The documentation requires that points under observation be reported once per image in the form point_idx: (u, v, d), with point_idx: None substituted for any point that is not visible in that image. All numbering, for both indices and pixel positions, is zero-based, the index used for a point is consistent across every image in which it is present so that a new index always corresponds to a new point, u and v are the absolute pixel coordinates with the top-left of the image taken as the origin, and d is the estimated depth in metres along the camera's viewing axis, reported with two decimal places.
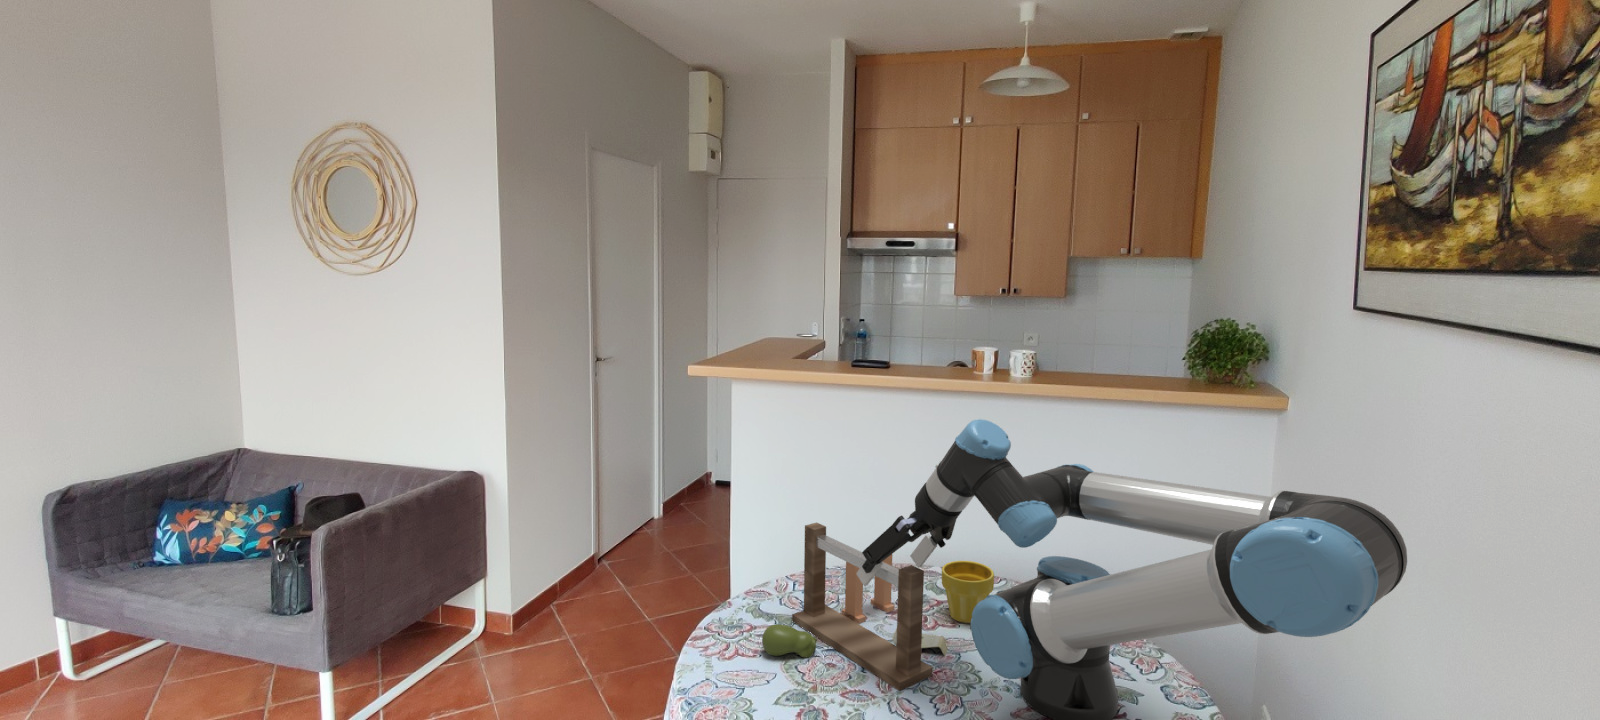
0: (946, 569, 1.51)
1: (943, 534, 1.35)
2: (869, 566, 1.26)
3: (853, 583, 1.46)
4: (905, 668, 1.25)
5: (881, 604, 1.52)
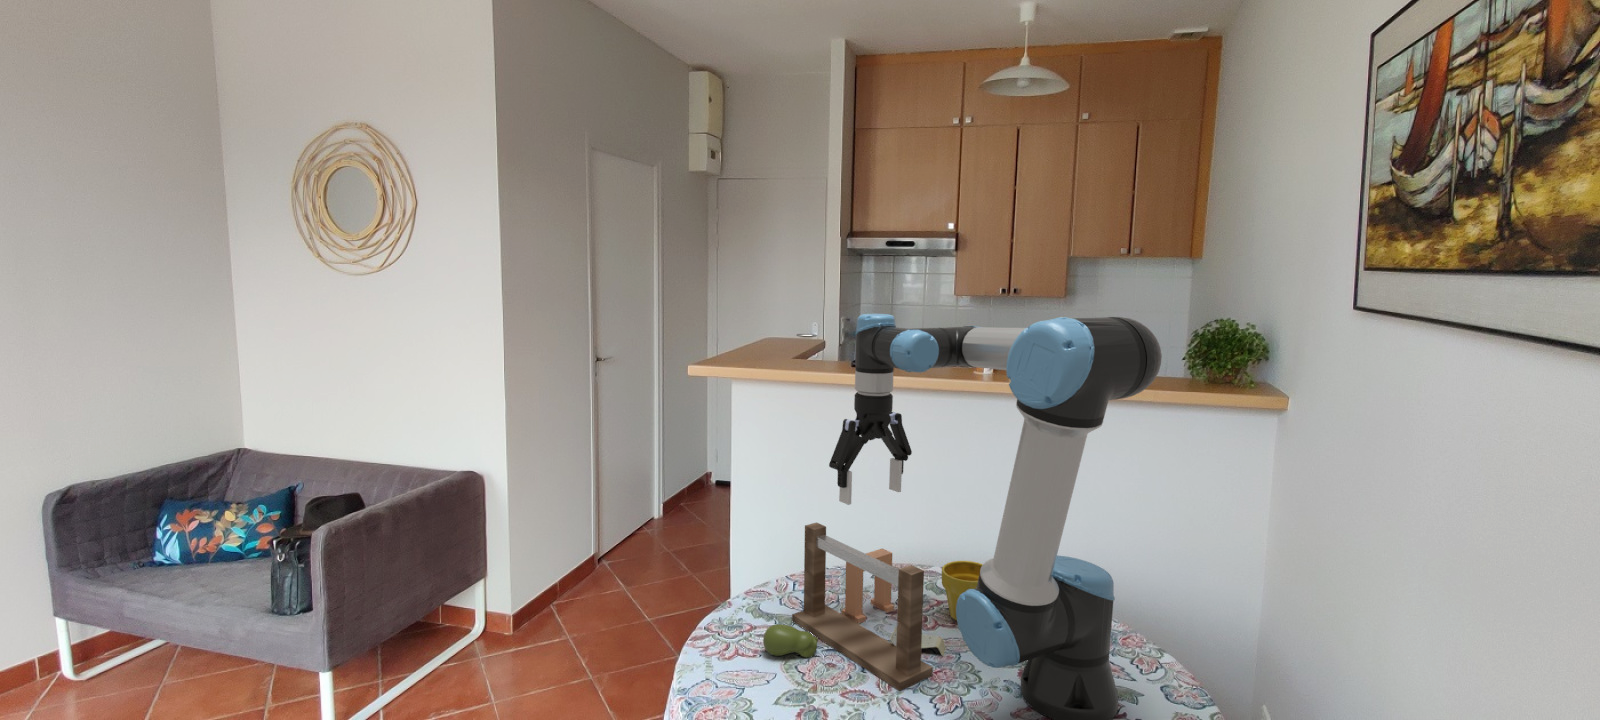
0: (946, 569, 1.51)
1: (903, 451, 1.52)
2: (841, 478, 1.42)
3: (853, 583, 1.46)
4: (905, 668, 1.25)
5: (881, 604, 1.52)
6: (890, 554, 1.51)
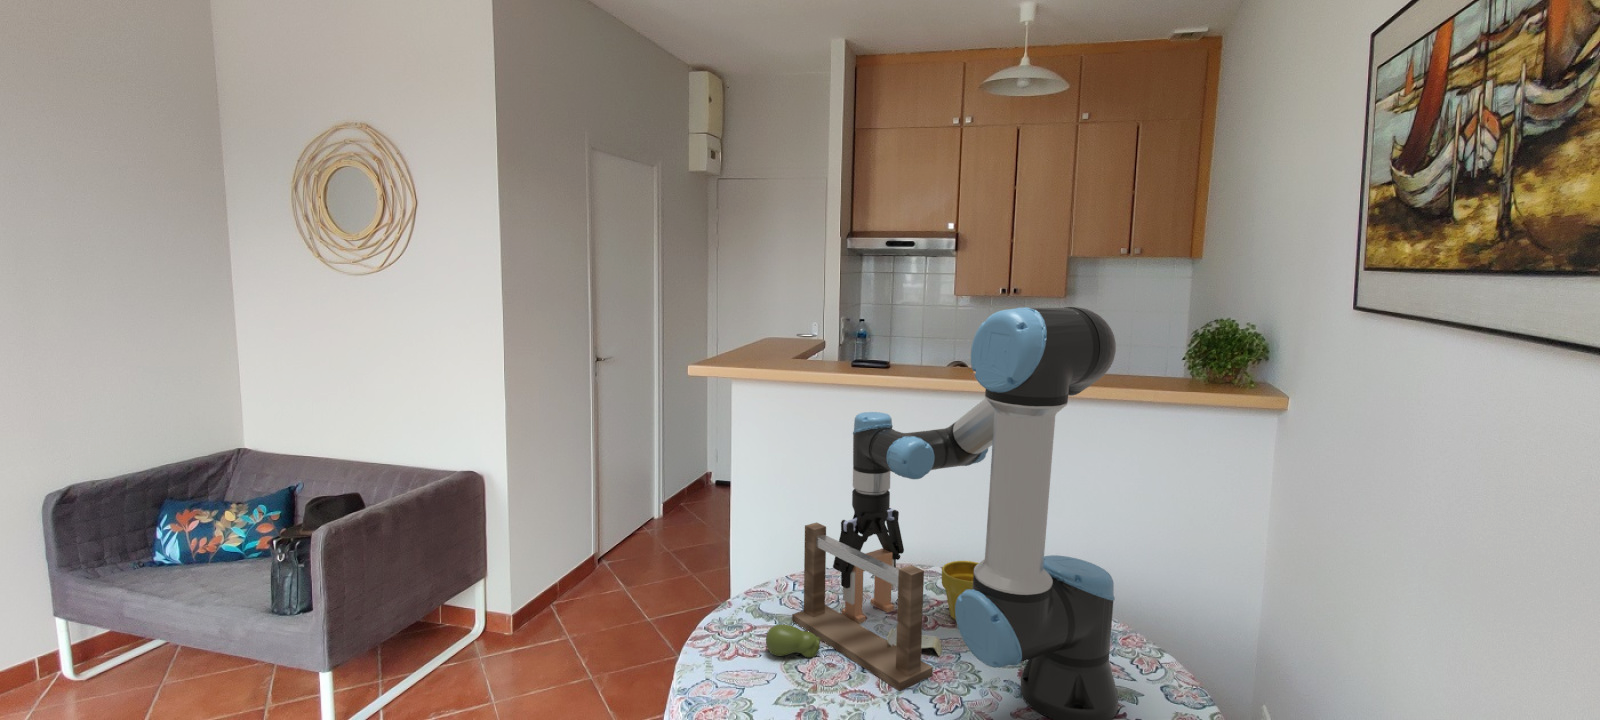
0: (946, 569, 1.51)
1: (895, 549, 1.53)
2: (845, 579, 1.45)
3: None
4: (905, 668, 1.25)
5: (881, 604, 1.52)
6: (890, 554, 1.51)
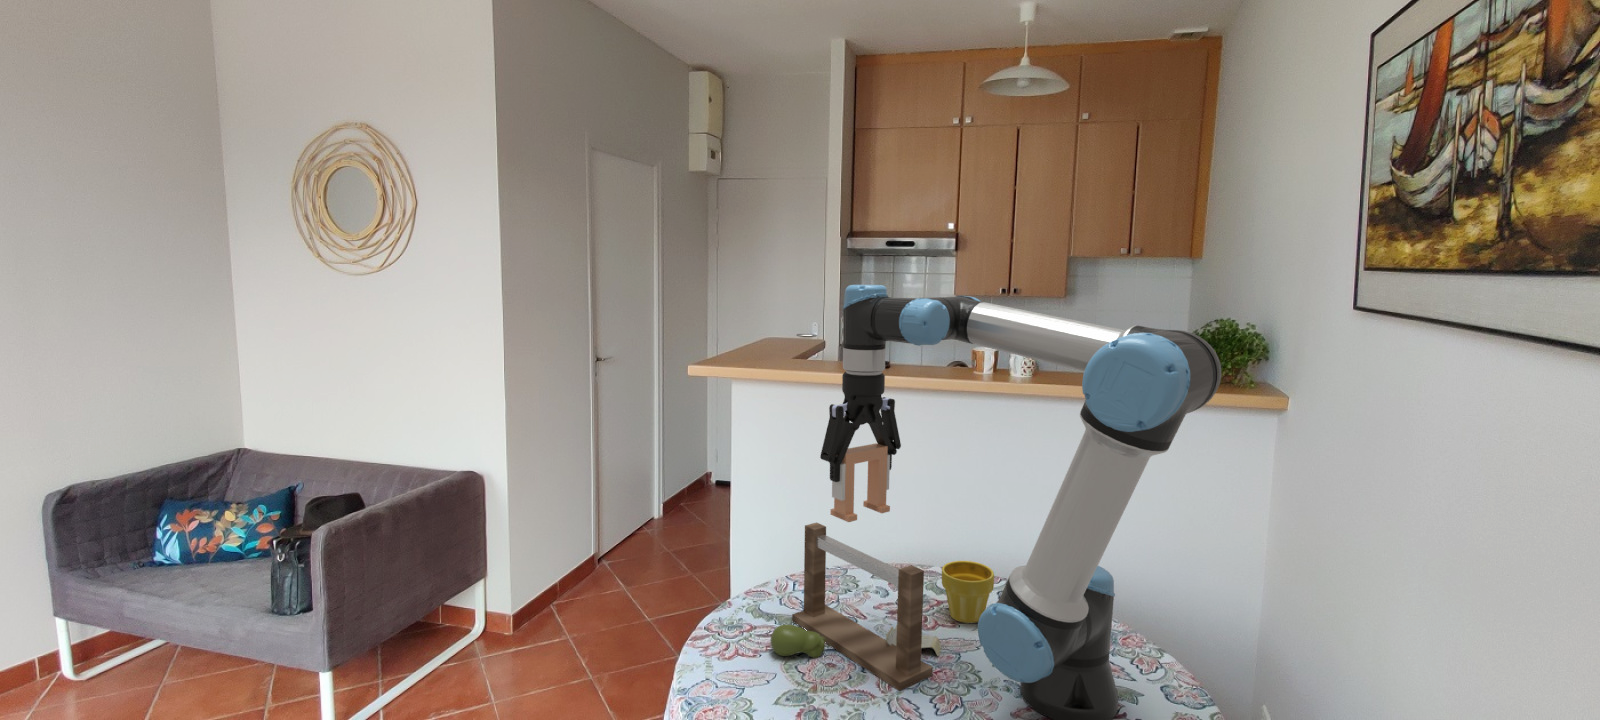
0: (946, 569, 1.51)
1: (891, 444, 1.36)
2: (834, 471, 1.28)
3: None
4: (905, 668, 1.25)
5: (875, 505, 1.35)
6: (885, 448, 1.34)
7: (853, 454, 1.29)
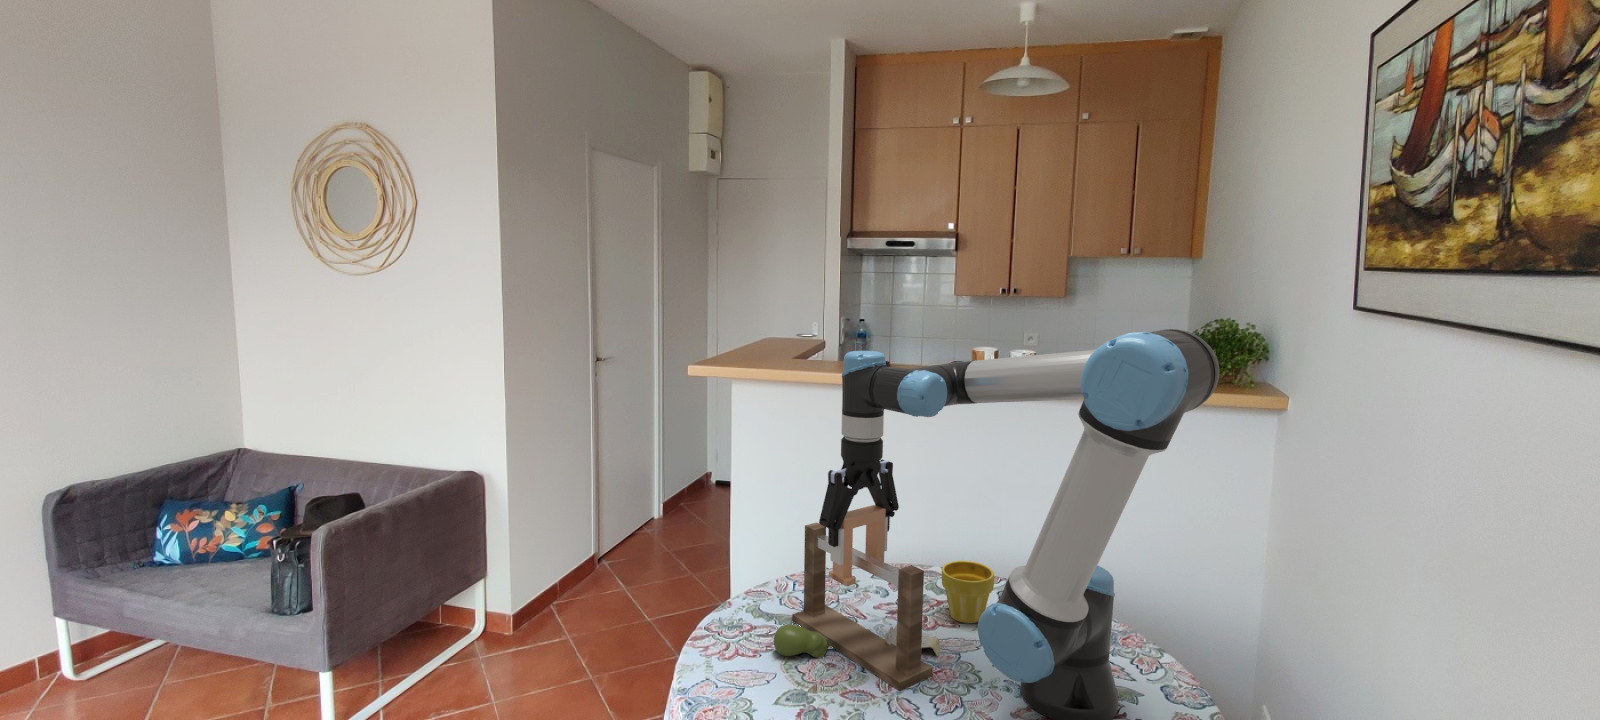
0: (946, 569, 1.51)
1: (889, 505, 1.38)
2: (832, 536, 1.30)
3: None
4: (905, 668, 1.25)
5: None
6: (883, 510, 1.35)
7: (851, 519, 1.31)
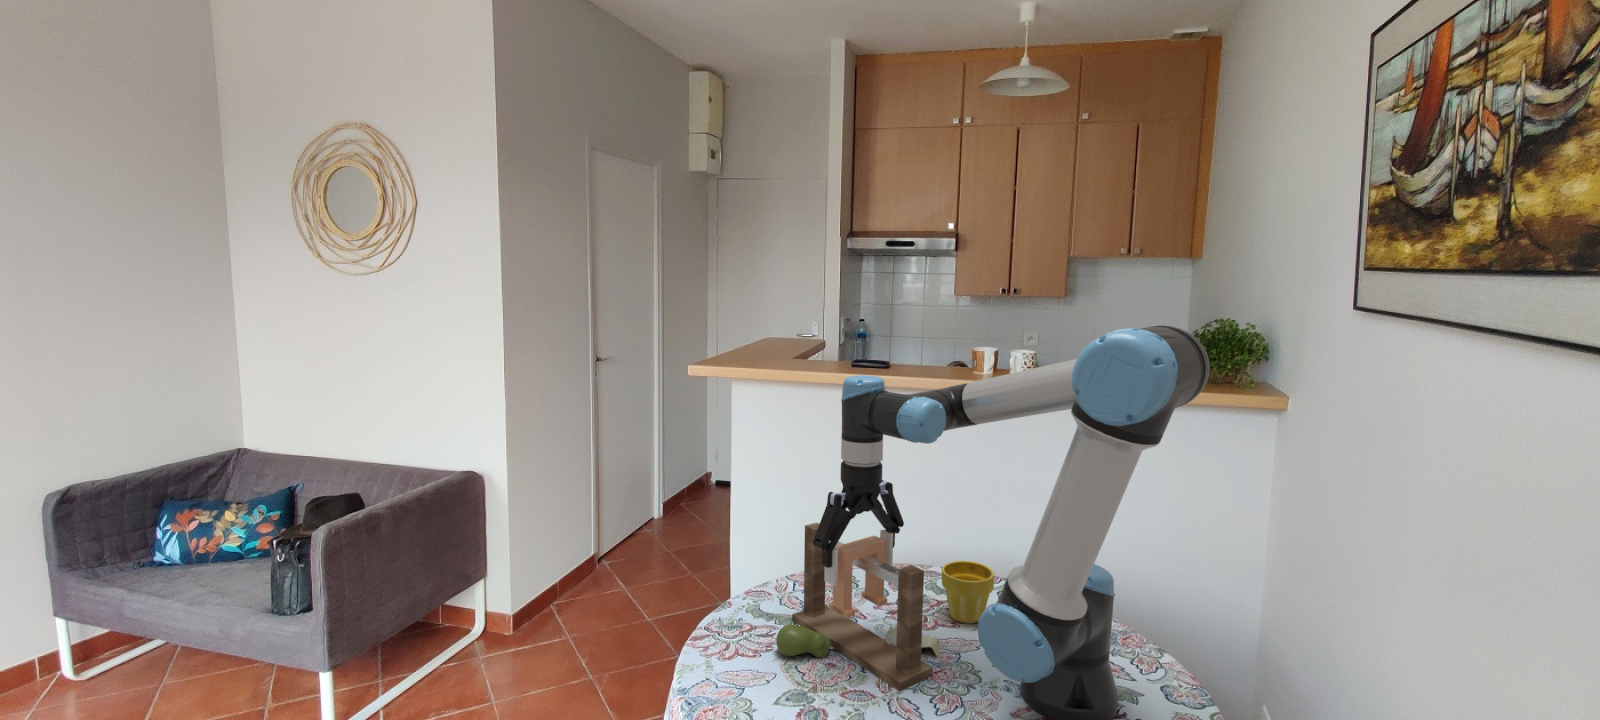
0: (946, 569, 1.51)
1: (895, 522, 1.39)
2: (826, 557, 1.29)
3: (841, 573, 1.31)
4: (905, 668, 1.25)
5: (873, 597, 1.37)
6: (882, 541, 1.36)
7: (851, 551, 1.31)
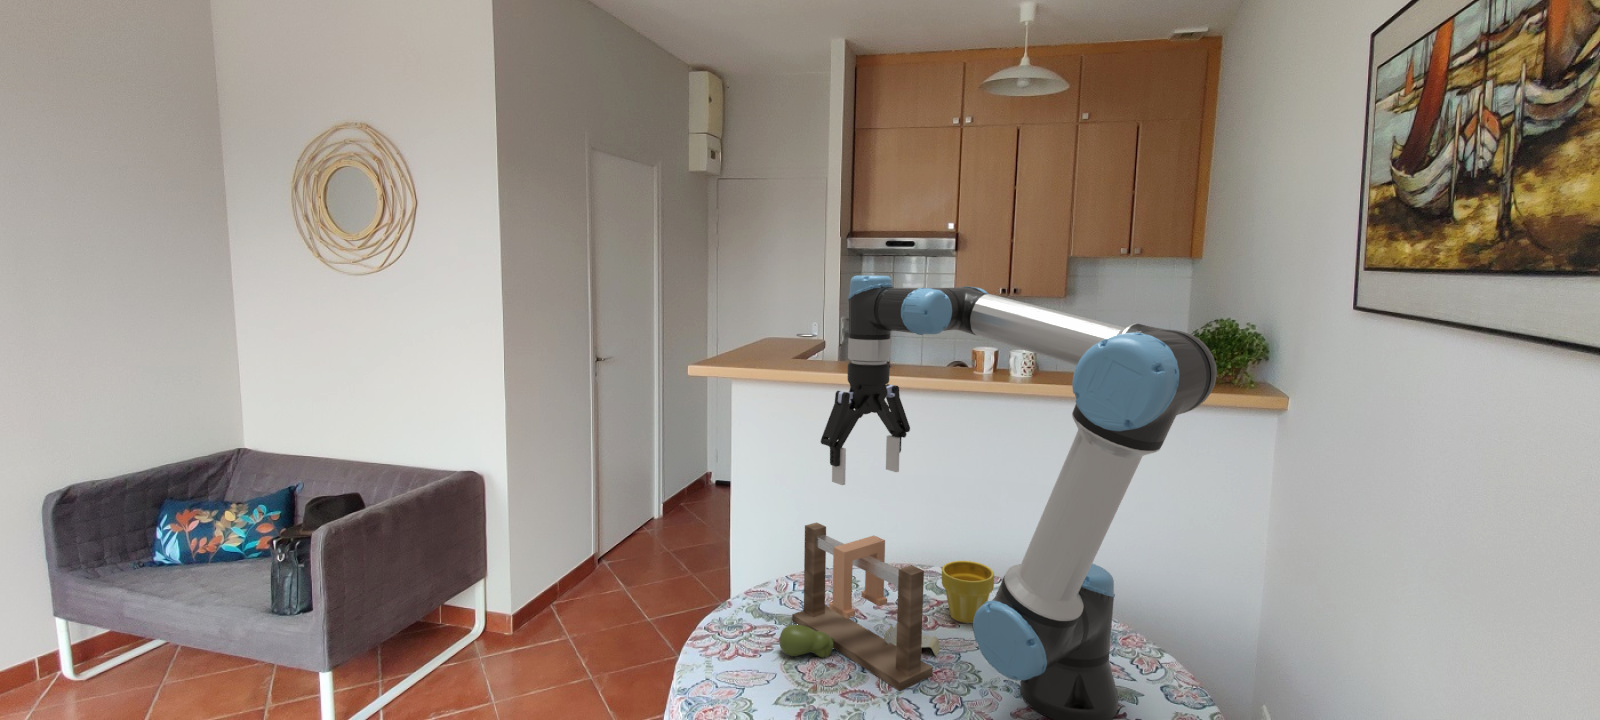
0: (946, 569, 1.51)
1: (901, 427, 1.39)
2: (834, 455, 1.28)
3: (841, 573, 1.31)
4: (905, 668, 1.25)
5: (873, 597, 1.37)
6: (882, 541, 1.36)
7: (851, 551, 1.31)
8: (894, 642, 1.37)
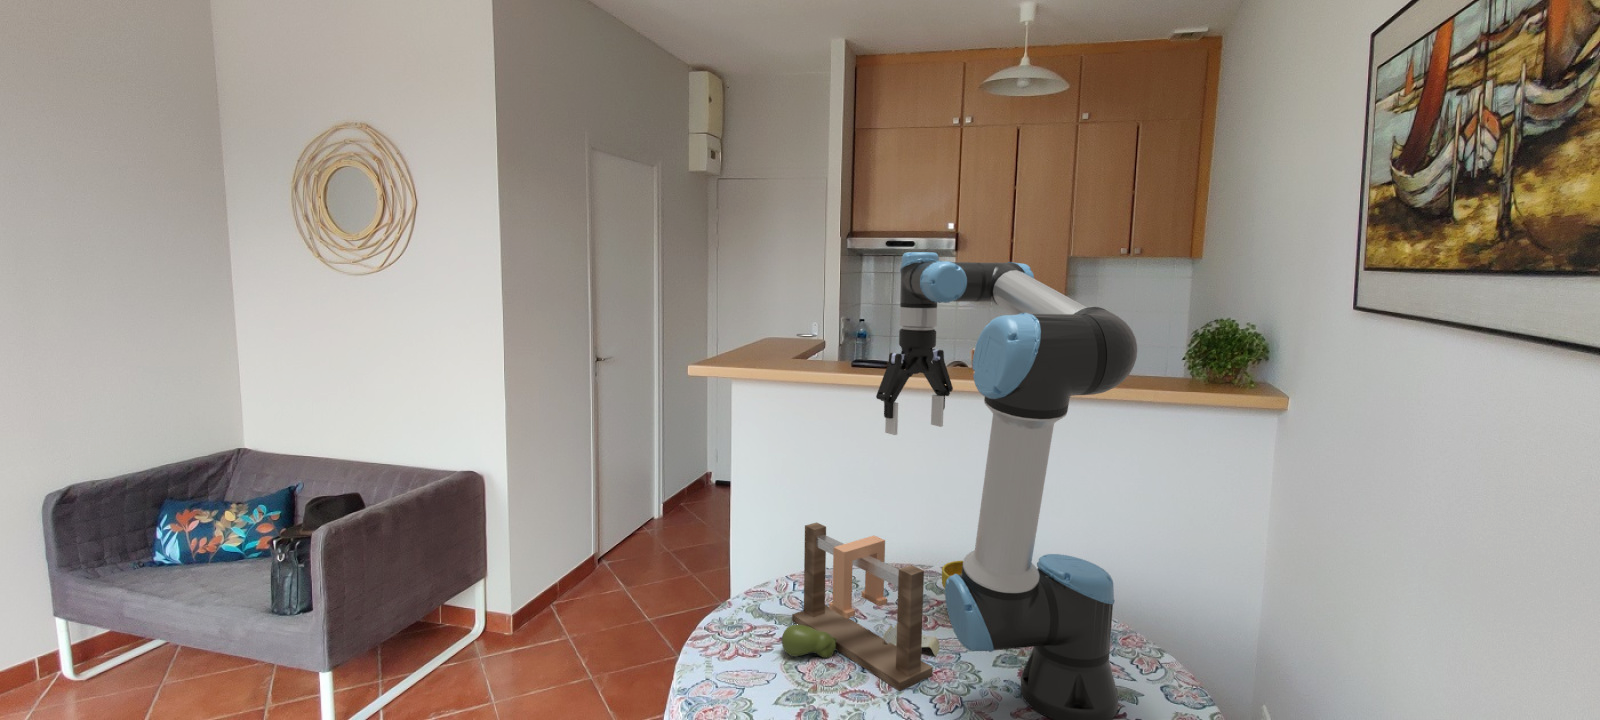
0: (946, 569, 1.51)
1: (945, 387, 1.57)
2: (888, 409, 1.47)
3: (841, 573, 1.31)
4: (905, 668, 1.25)
5: (873, 597, 1.37)
6: (882, 541, 1.36)
7: (851, 551, 1.31)
8: (894, 642, 1.37)
